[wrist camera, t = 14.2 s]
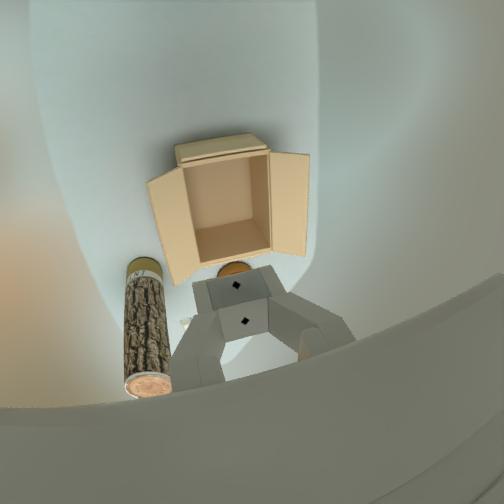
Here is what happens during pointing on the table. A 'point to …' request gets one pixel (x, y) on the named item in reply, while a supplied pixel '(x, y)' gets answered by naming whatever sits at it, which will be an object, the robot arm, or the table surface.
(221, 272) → the ornamental finial
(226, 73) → the table surface
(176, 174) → the flap near
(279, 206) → the flap far
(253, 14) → the table surface
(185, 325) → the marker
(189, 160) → the carton
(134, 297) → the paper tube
